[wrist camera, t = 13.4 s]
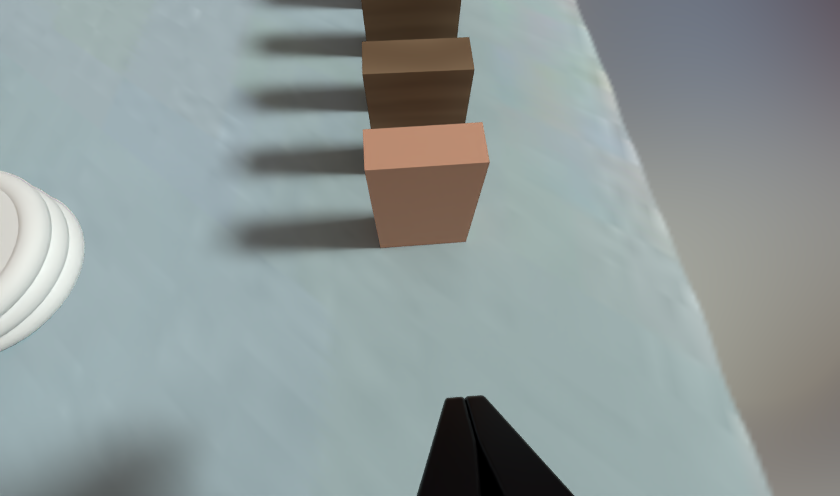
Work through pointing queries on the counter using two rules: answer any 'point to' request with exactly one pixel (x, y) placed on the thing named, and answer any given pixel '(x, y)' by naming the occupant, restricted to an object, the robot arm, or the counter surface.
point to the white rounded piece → (34, 257)
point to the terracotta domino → (424, 181)
